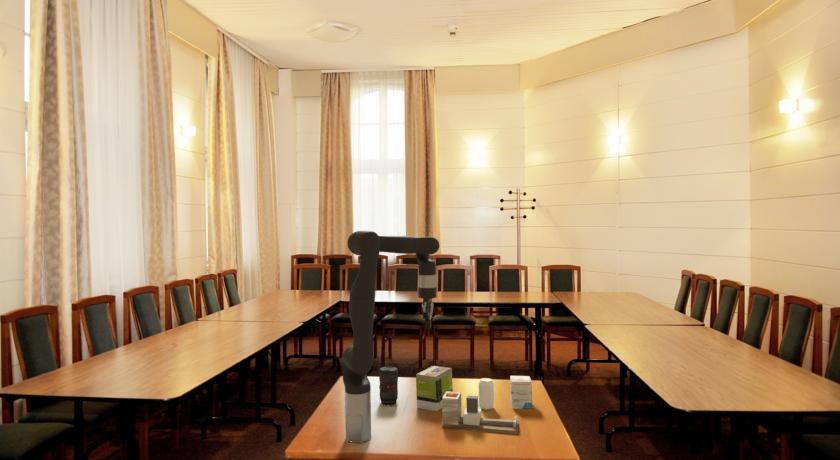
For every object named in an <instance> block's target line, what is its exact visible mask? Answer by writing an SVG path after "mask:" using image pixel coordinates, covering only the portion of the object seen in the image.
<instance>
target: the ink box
mask: <svg viewBox="0 0 840 460" xmlns="http://www.w3.org/2000/svg"><path fill="white" fill-rule="evenodd" d="M509 379H510V380H509V382H510V383H509V384H510V387H509V388H510V389H509V390H510V391H509V392H510V394H509V395H510V396H509V397H510V405H511V409H512V410H533V386H532V382H533V381H532V379H531V377H530V376H529V375H510V377H509Z"/></svg>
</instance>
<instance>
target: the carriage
mask: <svg viewBox="0 0 840 460" xmlns="http://www.w3.org/2000/svg"><path fill="white" fill-rule="evenodd" d="M462 414H463V415H462V417H463V424H465V425H478V426H479V425H480V418H482V409H481V408H479V395H467V396H466V407H465V409H464V411H463V413H462Z"/></svg>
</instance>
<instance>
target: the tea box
mask: <svg viewBox="0 0 840 460" xmlns="http://www.w3.org/2000/svg"><path fill="white" fill-rule="evenodd" d="M415 386H416V387H415V388H416V408H417V409H420V408H421V410H425V411H432V412H438V411H439V410H440V409H441V410H442V397H443V396H444V394H445V392H446V391H449V392H454V390H453V368H452V367H446V366H438V365H431V366H429V367H427V368H426V369H424V370H421V371H420V372H417V373H416V374H415Z"/></svg>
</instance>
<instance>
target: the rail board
mask: <svg viewBox="0 0 840 460" xmlns="http://www.w3.org/2000/svg"><path fill="white" fill-rule="evenodd" d="M453 392H454V393H456V397H448V393H450V392H449V391H446V392H445V394H444V396H443V397H442V408H441V410H442V411H441V412H442V425H441V428H442V429H447V430H460V431H471V432H484V433H485V432H486V433H495V434H496V433H497V434H500V433H501V434H509V435H518V431H519V423H520V422H519V420H518V416H515V415H514V417H513V420H511V419H498V418H487V417H486V418H484V417H481V418H480V425H479V426H478V425H465V424H463V415H462V392H461V391H453Z"/></svg>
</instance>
